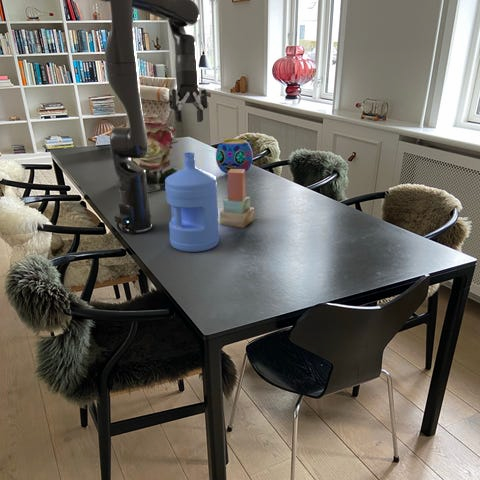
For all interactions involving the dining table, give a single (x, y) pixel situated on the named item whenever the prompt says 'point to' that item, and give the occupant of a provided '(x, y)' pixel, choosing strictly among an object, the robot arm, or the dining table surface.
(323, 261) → the dining table surface
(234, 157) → the ceramic pot
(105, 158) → the dining table surface
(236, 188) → the tall block
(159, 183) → the rose bouquet
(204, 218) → the water jug
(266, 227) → the dining table surface
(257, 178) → the dining table surface
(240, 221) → the stack
